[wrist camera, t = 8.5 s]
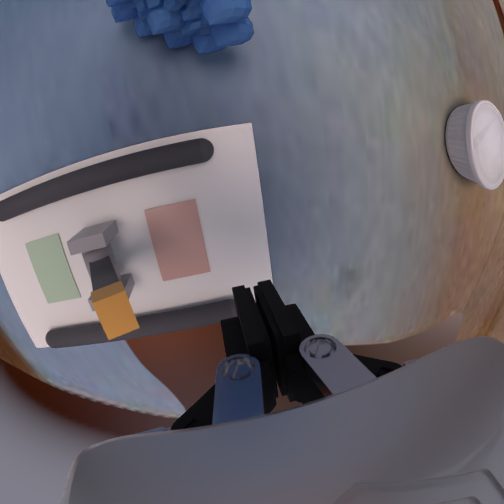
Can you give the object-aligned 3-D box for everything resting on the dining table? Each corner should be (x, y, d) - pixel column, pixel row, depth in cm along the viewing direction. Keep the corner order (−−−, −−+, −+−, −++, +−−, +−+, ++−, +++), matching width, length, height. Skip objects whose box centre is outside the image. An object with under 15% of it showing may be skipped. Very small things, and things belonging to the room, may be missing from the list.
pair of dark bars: (-1, 201, 17) (-12, 206, 15) (211, 136, 19) (212, 135, 18) (54, 341, 22) (48, 352, 21) (241, 310, 25) (245, 321, 23)
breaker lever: (81, 249, 19) (83, 298, 11) (108, 239, 20) (128, 280, 12) (93, 283, 20) (106, 348, 12) (119, 273, 21) (147, 331, 13)
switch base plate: (-4, 198, 19) (-42, 214, 13) (244, 125, 22) (262, 117, 16) (46, 332, 25) (25, 368, 19) (267, 292, 28) (287, 330, 22)
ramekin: (445, 84, 24) (476, 82, 19) (486, 125, 27) (513, 128, 22) (431, 161, 27) (464, 167, 22) (473, 193, 30) (500, 202, 25)
